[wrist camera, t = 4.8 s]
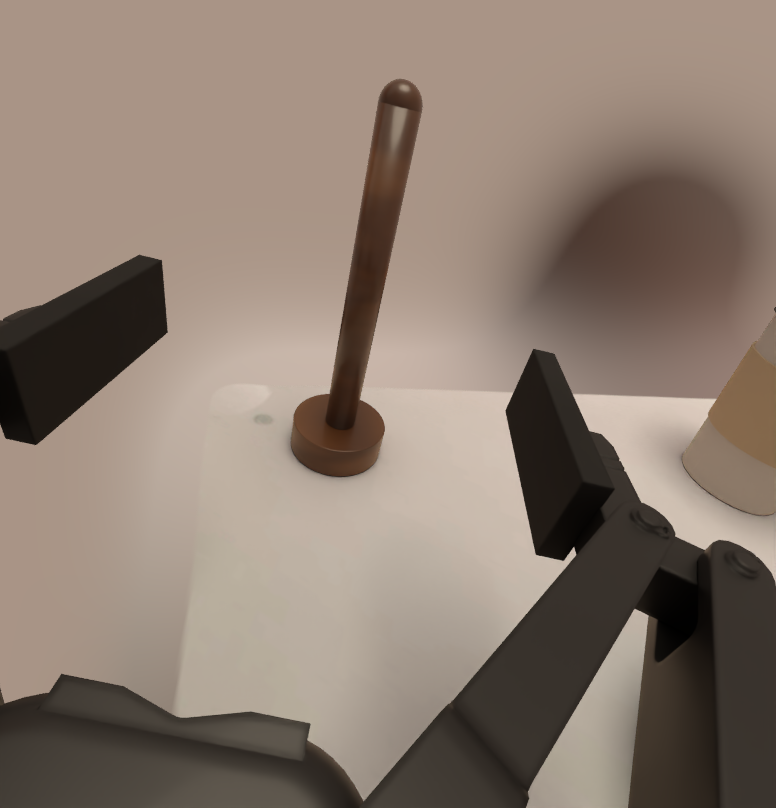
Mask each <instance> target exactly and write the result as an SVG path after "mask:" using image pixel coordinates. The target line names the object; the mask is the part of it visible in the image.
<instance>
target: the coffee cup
mask: <svg viewBox="0 0 776 808" xmlns="http://www.w3.org/2000/svg"><path fill="white" fill-rule="evenodd" d="M774 310H775V312H776V307H775V308H774ZM682 462H683V465H684V467H685V469H686V470H687V472H688V473H689V474H690V476H691V477H692V478H693V479H694V480H695V481H696V482H697V483H698V484H699V485H700V486H701V487H703V488H704V489H705V490H706V491H708V492H709V493H711V494H712V495H713V496H715V497H716V498H718V499H720V500H721V501H723V502H725V503H727V504H729V505H731V506H733V507H735V508H737V509H739V510H742V511H745V512H748V513H751V514H755V515H771V514H773V513H775V512H776V314H775V315H774V317H773V318H772V320H771V321H770V323H769V325H768V326H767V328H766V329H765V331H764V332H763V334H762V335H761V337H760V338H759V340H758V341H755V342H754V343H753V344H752V345H751V347H750V349H749V350H748V352H747V353H746V355H745V356H744V358H743V359H742V361H741V363H740V364H739V366H738V367H737V369H736V370H735V372H734V374H733V375H732V377H731V378H730V380H729V381H728V383H727V384H726V386H725V387H724V389H723V390H722V392H721V394H720V395H719V397H718V398H717V400H716V401H715V403H714V404H713V406H712V407H711V409H710V411H709V413H708V417H707V419H706V421H705V422H704V424H703V425H702V427H701V428H700V430H699V431H698V433H697V434H696V436H695V437H694V439H693V440H692V442H691V443H690V445H689V446H688V448H687V450H686V451H685V453H684V454H683V456H682Z"/></svg>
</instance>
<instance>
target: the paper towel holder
mask: <svg viewBox="0 0 776 808" xmlns="http://www.w3.org/2000/svg"><path fill="white" fill-rule="evenodd" d="M421 113H422V98H421V95H420V92H419V90H418V89H417V87H416V86H415V85H414V84H413V83H411V82H410V81H408V80H404V79H396V80H393V81H391V82H390V83H388V84H387V85H386V86H385V87H384V89H383V90H382V92H381V94H380V97H379V101H378V106H377V112H376V118H375V125H374V131H373V136H372V142H371V148H370V154H369V161H368V167H367V173H366V178H365V184H364V190H363V196H362V203H361V208H360V215H359V220H358V226H357V233H356V239H355V244H354V251H353V256H352V263H351V269H350V275H349V281H348V287H347V293H346V299H345V305H344V311H343V317H342V323H341V329H340V335H339V341H338V347H337V353H336V359H335V365H334V371H333V377H332V383H331V389H330V394H324V395H318V396H314V397H311V398H309V399H307V400H305V401H303V402H302V403H301V404H300V405H299V406H298V407H297V409H296V411H295V413H294V419H293V428H292V437H291V447H292V450H293V452H294V454H295V456H296V457H297V458H298V460H299V461H300V462H301V463H303V464H304V465H305V466H307V467H308V468H310V469H312V470H314V471H316V472H319V473H322V474H326V475H331V476H351V475H355V474H359V473H361V472H363V471H365V470H367V469H368V468H370V467H371V466H372V465H373V464H374V463H375V461H376V459H377V457H378V454H379V450H380V446H381V443H382V439H383V435H384V431H385V426H384V422H383V419H382V417H381V416H380V414H379V413H378V412H377V411H376V410H375V409H374V408H373V407H372V406H370V405H369V404H367V403H365V402H363V401H361V400H360V396H361V392H362V387H363V382H364V378H365V373H366V368H367V364H368V359H369V354H370V350H371V345H372V341H373V336H374V331H375V327H376V322H377V317H378V313H379V308H380V303H381V298H382V294H383V290H384V285H385V280H386V276H387V271H388V266H389V262H390V257H391V252H392V248H393V243H394V239H395V234H396V229H397V225H398V220H399V215H400V210H401V206H402V201H403V197H404V192H405V187H406V183H407V178H408V173H409V169H410V164H411V160H412V155H413V150H414V146H415V141H416V136H417V132H418V127H419V123H420V118H421Z"/></svg>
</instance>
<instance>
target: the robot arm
mask: <svg viewBox="0 0 776 808" xmlns="http://www.w3.org/2000/svg"><path fill="white" fill-rule="evenodd" d="M167 332H168V331H167V318H166V307H165V294H164V281H163V270H162V260H158V259H154V258H150V257H146V256H142V255H138V256H136V257H134V258H132V259H131V260H129V261H127V262H125V263H123V264H121V265H119V266H117V267H115V268H113V269H111V270H109V271H107V272H105V273H103V274H102V275H100V276H98V277H96V278H94V279H92V280H90V281H88V282H86V283H84V284H82V285H80V286H78V287H76V288H75V289H73V290H71V291H69V292H67V293H65V294H63V295H61V296H59V297H57V298H55V299H53V300H51V301H49V302H48V303H46V304H44V305H42V306H41V305H40V306H36V307H32V308H28V309H24V310H20V311H18V312H16V313H14V314H12V315H10V316H8V317H6V318H4V319H3V321H0V425H1V427H2V430H3V433H4V436H5V438H6V439H10V440H15V441H20V442H24V443H29V444H34V445H36V444H38V443H39V442H40V441H42V440H43V439H44V438H45V437H46V436H47V435H49V434H50V433H51V432H52V431H53V430H54V429H56V428H57V427H58V426H59V425H60V424H61V423H62V422H64V421H65V420H66V419H67V418H68V417H69V416H71V415H72V414H73V413H74V412H75V411H77V410H78V409H79V408H80V407H81V406H82V405H84V404H85V403H86V402H87V401H88V400H89V399H90V398H92V397H93V396H94V395H95V394H96V393H98V391H100V390H101V389H102V388H103V387H104V386H106V385H107V384H108V383H109V382H110V381H112V380H113V379H114V378H115V377H116V376H117V375H118V374H120V373H121V372H122V371H123V370H124V369H125V368H127V367H128V366H129V365H130V364H131V363H132V362H134V361H135V360H136V359H137V358H138V357H140V356H141V355H142V354H143V353H144V352H145V351H147V350H148V349H149V348H150V347H151V346H152V345H153V344H155V343H156V342H157V341H158V340H159V339H160V338H162V337H163V336H164V335H165V334H166V333H167ZM506 416H507V420H508V425H509V430H510V435H511V439H512V444H513V449H514V453H515V458H516V463H517V468H518V472H519V477H520V482H521V487H522V491H523V496H524V501H525V506H526V510H527V515H528V520H529V525H530V529H531V534H532V539H533V544H534V548H535V553H536V555H539V556H544V557H549V558H553V559H558V560H562V561H564V560H565V558H566V557H567V555H568V554H569V553H570V551H571V550H572V548H573V547H574V548H575V551H576V556H575V558H574V559H573V560H572V561H571V562H570V563H569V565H568V566H567V567H566V568H565V569H564V571H563V572H562V573H561V574H560V575H559V576H558V578H557V579H556V580H555V581H554V582H553V583H552V585H551V586H550V587H549V588H548V589H547V591H546V592H545V593H544V594H543V595H542V596H541V598H540V599H539V600H538V601H537V602H536V604H535V605H534V606H533V607H532V608H531V609H530V611H529V612H528V613H527V614H526V615H525V616H524V618H523V619H522V620H521V621H520V622H519V624H518V625H517V626H516V627H515V628H514V629H513V631H512V632H511V633H510V634H509V635H508V636H507V638H506V639H505V640H504V641H503V642H502V644H501V645H500V646H499V647H498V648H497V649H496V651H495V652H494V653H493V654H492V655H491V657H490V658H489V659H488V660H487V661H486V662H485V664H484V665H483V666H482V667H481V668H480V669H479V671H478V672H477V673H476V674H475V675H474V677H473V678H472V679H471V680H470V681H469V682H468V684H467V685H466V686H465V687H464V688H463V690H462V691H461V692H460V693H459V694H458V695H457V697H456V698H455V699H454V700H453V701H452V702H451V703H450V704H448V705H447V706H446V707H445V708H444V709H443V710H442V711H441V712H440V713H439V715H438V716H437V717H436V718H435V719H434V720H433V721H432V723H431V724H430V725H429V726H428V727H427V728H426V730H425V731H424V732H423V733H422V734H421V735H420V737H419V738H418V739H417V740H416V741H415V742H414V744H413V745H412V746H411V747H410V748H409V749H408V751H407V752H406V753H405V754H404V755H403V756H402V758H401V759H400V760H399V761H398V762H397V763H396V765H395V766H394V767H393V768H392V769H391V770H390V772H389V773H388V774H387V775H386V776H385V778H384V779H383V780H382V781H381V782H380V783H379V785H378V786H377V787H376V788H375V789H374V790H373V792H372V793H371V794H370V795H369V796H368V797H367V799H366V800H365V801H364V802H363V800H362V798H361V796H360V794H359V793H358V791H357V789H356V787H355V785H354V784H353V782H352V781H351V779H350V778H349V777H348V775H347V774H346V772H345V771H344V770H343V769H342V768H341V767H340V765H339V764H338V763H337V762H336V761H335V760H334V759H333V758H332V757H331V756H329V755H328V754H327V753H326V752H324V751H323V750H322V749H321V748H319V747H318V746H316V745H314V744H313V743H311V742H309V741H308V740H307V738H308V734H309V729H310V723H305V722H300V721H295V720H290V719H285V718H280V717H275V716H270V715H265V714H260V713H255V712H242V713H232V714H222V715H212V716H201V717H191V718H179V717H176V716H174V715H172V714H170V713H168V712H167V711H165V710H163V709H162V708H160V707H158V706H157V705H154V704H153V703H151V702H149V701H148V700H146V699H144V698H143V697H141V696H139V695H138V694H136V693H134V692H132V691H130V690H129V689H127V688H125V687H124V686H119V685H114V684H109V683H104V682H99V681H94V680H89V679H84V678H79V677H74V676H69V675H64V674H61V675H60V677H59V679H58V680H57V682H56V683H55V685H54V686H53V688H52V689H51V691H50V692H49V693H45V694H39V695H34V696H29V697H24V698H21V699H18V700H15V701H12V702H8V703H5V704H4V700H3V697H2V693H1V690H0V808H526V806H527V803H528V800H529V796H528V791H529V788H530V786H531V784H532V782H533V780H534V778H535V777H536V775H537V773H538V772H539V770H540V768H541V767H542V765H543V763H544V761H545V760H546V758H547V756H548V755H549V753H550V751H551V750H552V748H553V746H554V744H555V743H556V741H557V739H558V738H559V736H560V734H561V733H562V731H563V729H564V728H565V726H566V724H567V722H568V721H569V719H570V717H571V716H572V714H573V712H574V711H575V709H576V707H577V705H578V704H579V702H580V700H581V699H582V697H583V695H584V694H585V692H586V690H587V688H588V687H589V685H590V683H591V682H592V680H593V678H594V677H595V675H596V673H597V672H598V670H599V668H600V666H601V665H602V663H603V661H604V660H605V658H606V656H607V655H608V653H609V651H610V649H611V648H612V646H613V644H614V643H615V641H616V639H617V638H618V636H619V634H620V632H621V631H622V629H623V627H624V626H625V624H626V622H627V621H628V619H629V617H630V615H631V614H632V612H633V610H634V609H637V610H639V611H641V612H643V613H645V614H647V615H649V617H648V626H647V636H646V645H645V654H644V664H643V673H642V682H641V692H640V701H639V710H638V720H637V729H636V738H635V748H634V757H633V766H632V776H631V785H630V794H629V804H628V808H776V584H775V580H774V578H773V576H772V573H771V572H770V571H769V569H768V568H767V567H766V566H765V564H764V563H763V562H762V561H761V560H760V559H759V558H758V557H756V555H754V554H753V553H752V552H750V551H748V550H746V549H745V548H743V547H741V546H739V545H737V544H734V543H732V542H729V541H723V540H718V541H715V542H713V543H712V544H711V545H710V546H709V547H708V548H707V549H706V550H703V549H701V548H699V547H697V546H694V545H692V544H690V543H688V542H686V541H683V540H681V539H679V538H677V537H675V532H674V529H673V527H672V525H671V524H670V523H669V522H668V520H667V519H666V518H665V517H664V516H663V515H662V514H660V513H659V512H658V511H657V510H655V509H654V508H652V507H650V506H648V505H646V504H644V503H641V501H640V499H639V497H638V495H637V493H636V491H635V489H634V487H633V485H632V483H631V481H630V479H629V477H628V475H627V473H626V472H625V471H624V467H623V465H622V463H621V461H619V457H618V455H617V453H616V451H615V449H614V447H613V446H612V445H611V444H610V443H609V442H608V441H607V440H606V439H605V438H604V437H603V435H602V434H599V433H594V432H590V431H589V430H588V428H587V425H586V423H585V421H584V419H583V416H582V414H581V412H580V410H579V408H578V405H577V403H576V401H575V399H574V396H573V394H572V392H571V390H570V388H569V385H568V383H567V381H566V379H565V377H564V374H563V372H562V370H561V368H560V365H559V363H558V361H557V359H556V357H555V354H553V353H549V352H545V351H540V350H536V349H533V351H532V353H531V355H530V358H529V360H528V362H527V364H526V366H525V369H524V371H523V373H522V375H521V377H520V380H519V382H518V384H517V387H516V389H515V391H514V393H513V395H512V397H511V400H510V402H509V404H508V406H507V409H506Z"/></svg>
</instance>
